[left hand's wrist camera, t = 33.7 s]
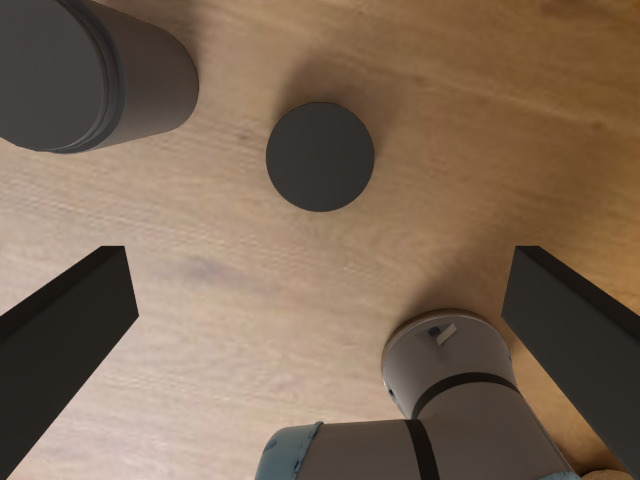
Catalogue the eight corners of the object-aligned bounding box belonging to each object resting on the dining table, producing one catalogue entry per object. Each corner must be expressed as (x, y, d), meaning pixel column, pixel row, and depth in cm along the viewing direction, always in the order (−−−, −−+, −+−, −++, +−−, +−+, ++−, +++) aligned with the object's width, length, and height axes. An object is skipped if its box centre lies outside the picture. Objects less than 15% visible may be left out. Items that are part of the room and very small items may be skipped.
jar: (88, 22, 33) (-96, -35, 18) (193, 25, 33) (94, -29, 18) (107, 131, 36) (-34, 156, 22) (203, 134, 36) (126, 160, 22)
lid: (272, 207, 39) (270, 213, 37) (264, 103, 35) (261, 103, 34) (370, 205, 39) (372, 210, 37) (373, 100, 35) (376, 100, 33)
